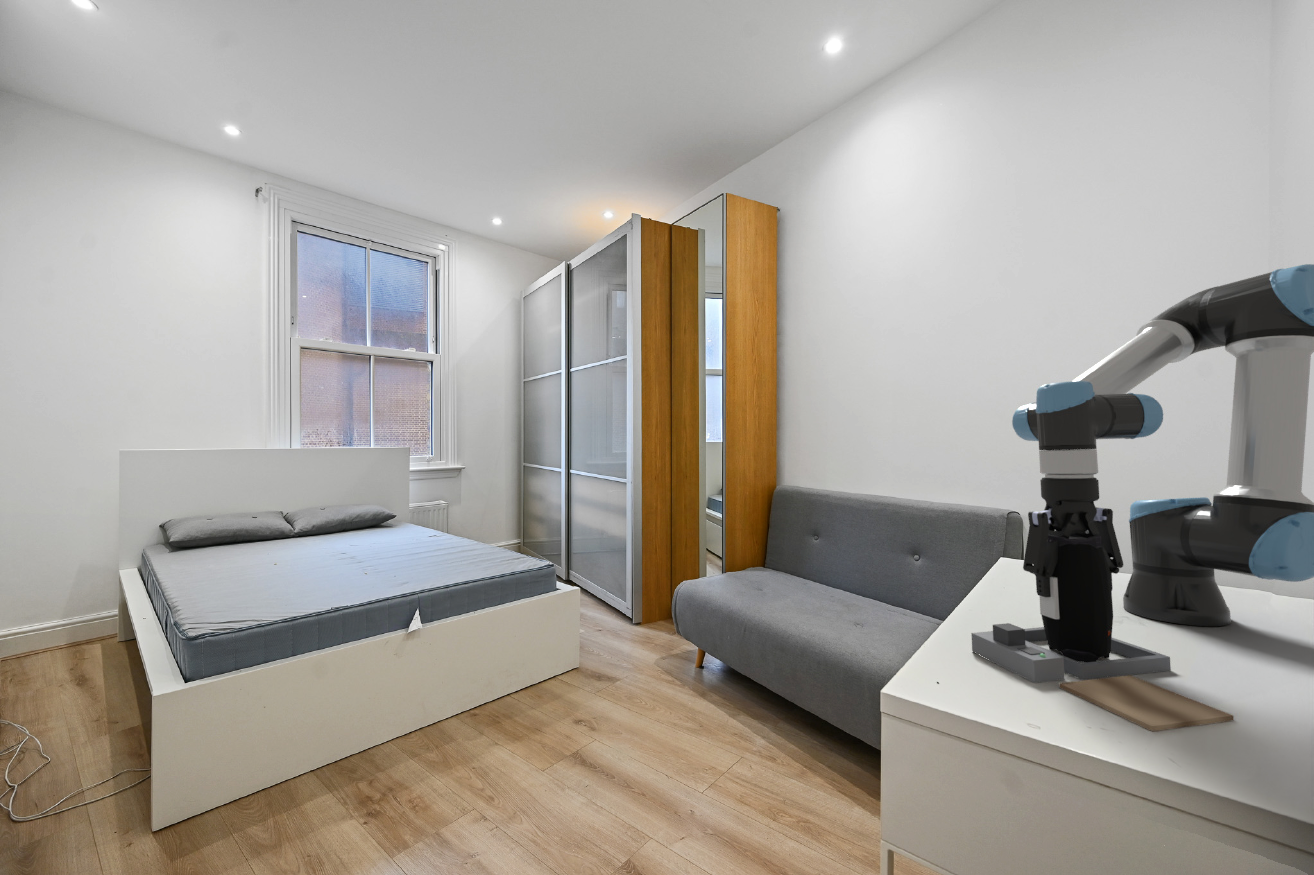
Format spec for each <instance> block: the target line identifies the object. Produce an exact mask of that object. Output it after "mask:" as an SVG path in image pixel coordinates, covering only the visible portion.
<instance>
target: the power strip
mask: <svg viewBox="0 0 1314 875" xmlns="http://www.w3.org/2000/svg"><path fill="white" fill-rule="evenodd" d="M1025 629H1026V628H1024V627H1023V628H1022V627H1019V625H1014V624H1012V623H1008V622H1007V623H997V624H992V630H989V631H978V632H971V650H972V651H973V652H976V653H977V654H980V655H981V656H983V657H985V658H987V659H989V660H990V662H991V661H992V663H993V662H994V663H993V664H995V663H996V664H995V665H998V666H1000V667H1001V666H1002V668H1004V669H1005V670H1008V671H1010V672H1011V673H1014V674H1016V675H1018V676H1020V677H1022V678H1025V679H1026V680H1028V681H1030V682H1032V683H1035V684H1037V683H1046V682H1054V681H1055V682H1056V681H1064V680H1065V672H1064V658H1063V657H1061V656H1059V655H1056V654H1054V653H1051V652H1049V651H1047V650H1044V649H1042V648H1039V647H1037V646H1034V645H1032V644H1029V643H1027V642H1025ZM973 652H972V653H973ZM977 654H976V655H977ZM981 656H980V657H981ZM983 657H982V658H983ZM985 658H984V659H985ZM987 659H986V660H987ZM989 660H988V661H989Z"/></svg>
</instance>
